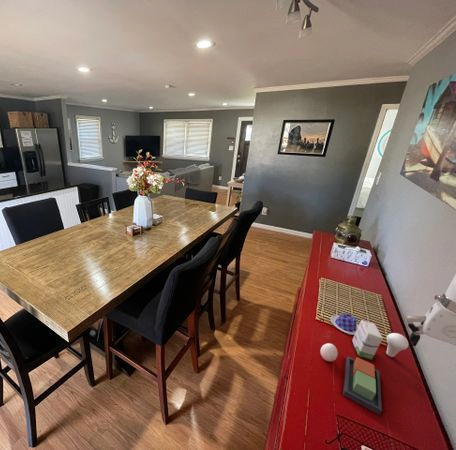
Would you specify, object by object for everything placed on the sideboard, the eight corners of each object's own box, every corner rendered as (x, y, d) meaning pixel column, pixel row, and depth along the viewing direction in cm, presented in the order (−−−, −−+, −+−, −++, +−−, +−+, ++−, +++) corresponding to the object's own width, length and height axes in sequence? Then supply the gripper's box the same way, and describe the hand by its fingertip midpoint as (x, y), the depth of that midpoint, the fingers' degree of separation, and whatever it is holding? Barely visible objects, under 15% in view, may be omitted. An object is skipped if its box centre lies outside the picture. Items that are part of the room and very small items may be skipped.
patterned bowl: (341, 314, 119) (344, 305, 117) (367, 332, 109) (372, 323, 107) (324, 319, 115) (327, 311, 113) (350, 339, 105) (354, 330, 103)
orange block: (370, 372, 90) (374, 365, 88) (370, 385, 85) (374, 377, 84) (353, 364, 93) (356, 356, 91) (352, 376, 88) (356, 368, 87)
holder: (377, 374, 90) (379, 371, 89) (379, 414, 77) (382, 410, 76) (345, 359, 95) (347, 356, 94) (343, 394, 82) (345, 390, 82)
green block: (371, 386, 85) (375, 378, 83) (371, 401, 80) (376, 393, 79) (353, 377, 88) (356, 369, 86) (352, 390, 83) (356, 383, 82)
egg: (317, 351, 99) (322, 337, 96) (332, 356, 97) (338, 342, 94) (319, 362, 94) (325, 348, 91) (335, 367, 92) (342, 353, 89)
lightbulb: (375, 351, 99) (386, 331, 95) (385, 347, 101) (396, 328, 97) (393, 364, 94) (404, 343, 90) (403, 360, 96) (415, 340, 92)
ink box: (372, 360, 95) (384, 338, 91) (357, 355, 97) (368, 334, 92) (365, 344, 103) (375, 323, 98) (351, 340, 104) (360, 319, 100)
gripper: (420, 300, 69) (397, 344, 75) (520, 329, 58) (484, 377, 65) (415, 287, 74) (395, 330, 80) (506, 312, 64) (475, 358, 70)
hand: (435, 351), depth 73 cm, fingers open, 9 cm apart
